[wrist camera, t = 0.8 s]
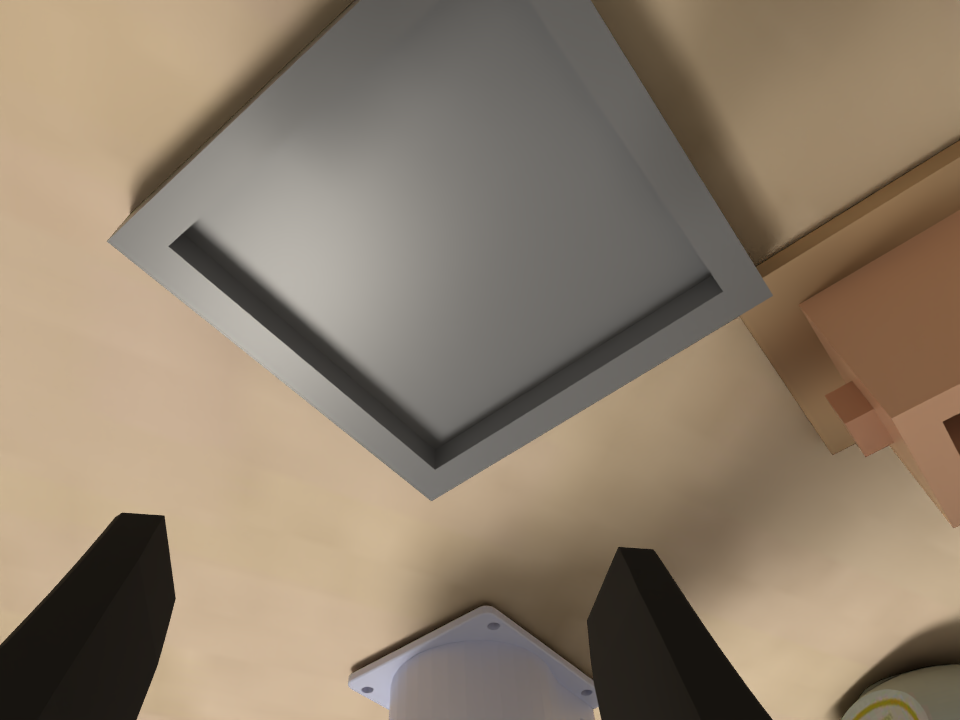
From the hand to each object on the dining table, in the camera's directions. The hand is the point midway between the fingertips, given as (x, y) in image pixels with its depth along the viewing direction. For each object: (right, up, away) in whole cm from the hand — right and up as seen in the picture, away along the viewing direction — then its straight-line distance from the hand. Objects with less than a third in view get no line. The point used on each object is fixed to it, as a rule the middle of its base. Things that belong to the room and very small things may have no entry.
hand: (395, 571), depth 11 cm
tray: (+1, +7, +8) cm, 10 cm away
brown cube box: (+14, +5, +9) cm, 17 cm away
